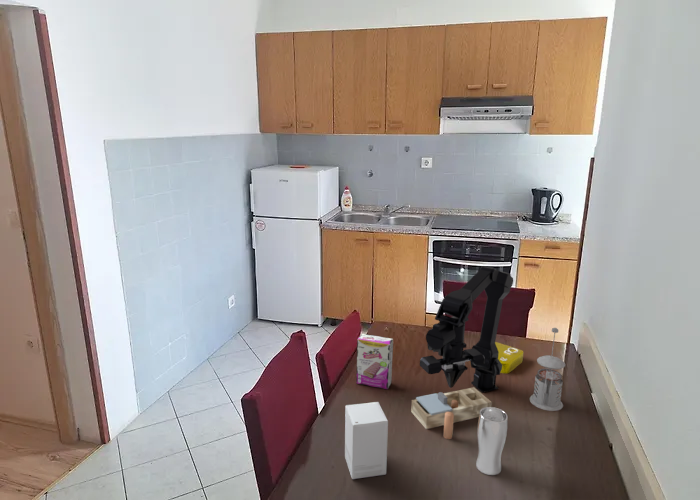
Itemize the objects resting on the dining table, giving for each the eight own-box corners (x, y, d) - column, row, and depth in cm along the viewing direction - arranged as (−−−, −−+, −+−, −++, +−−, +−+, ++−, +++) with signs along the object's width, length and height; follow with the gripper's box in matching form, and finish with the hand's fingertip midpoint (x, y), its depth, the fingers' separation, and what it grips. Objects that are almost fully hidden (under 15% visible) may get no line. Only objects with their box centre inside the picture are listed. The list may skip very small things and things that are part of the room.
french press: (563, 398, 150) (573, 325, 144) (562, 417, 140) (573, 339, 134) (530, 390, 154) (539, 319, 148) (527, 409, 144) (536, 333, 138)
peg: (449, 433, 132) (450, 410, 130) (453, 438, 130) (455, 415, 128) (441, 434, 131) (443, 412, 130) (446, 440, 129) (447, 417, 127)
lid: (436, 394, 144) (436, 387, 143) (452, 410, 136) (452, 402, 135) (416, 399, 141) (416, 391, 141) (431, 415, 133) (431, 407, 133)
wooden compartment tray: (473, 398, 149) (473, 387, 148) (490, 414, 141) (491, 402, 140) (411, 411, 142) (411, 400, 141) (426, 429, 134) (426, 416, 133)
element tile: (486, 349, 185) (487, 337, 184) (524, 361, 175) (525, 349, 174) (468, 362, 174) (469, 350, 173) (506, 375, 165) (508, 363, 163)
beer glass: (470, 458, 122) (474, 406, 118) (496, 457, 122) (501, 405, 119) (479, 477, 115) (484, 423, 111) (507, 476, 116) (513, 422, 112)
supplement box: (387, 475, 115) (389, 421, 112) (351, 480, 114) (352, 425, 110) (377, 451, 124) (379, 400, 120) (344, 455, 122) (344, 404, 119)
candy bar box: (355, 384, 157) (356, 338, 153) (360, 377, 162) (361, 332, 158) (388, 390, 154) (389, 344, 150) (392, 383, 158) (393, 337, 154)
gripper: (465, 323, 146) (462, 369, 150) (411, 331, 140) (409, 379, 143) (487, 337, 136) (483, 386, 140) (430, 347, 129) (428, 398, 133)
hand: (450, 387), depth 139 cm, fingers closed
